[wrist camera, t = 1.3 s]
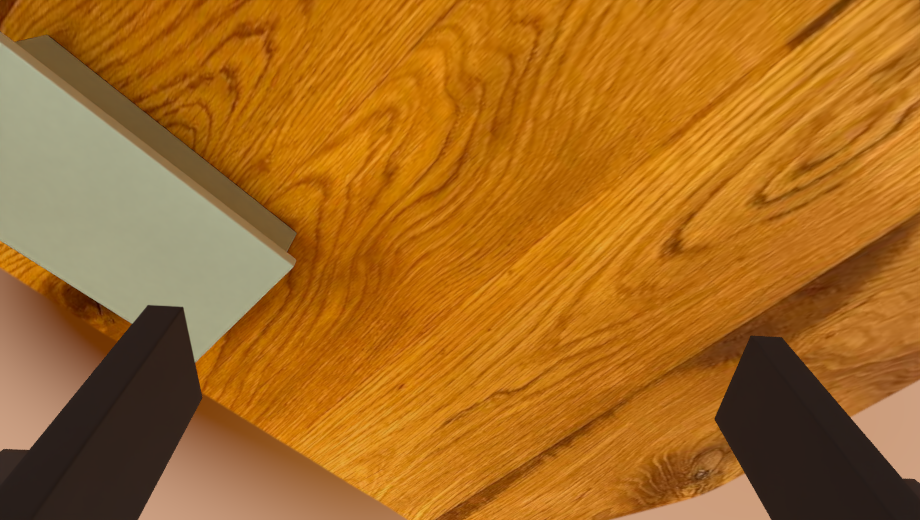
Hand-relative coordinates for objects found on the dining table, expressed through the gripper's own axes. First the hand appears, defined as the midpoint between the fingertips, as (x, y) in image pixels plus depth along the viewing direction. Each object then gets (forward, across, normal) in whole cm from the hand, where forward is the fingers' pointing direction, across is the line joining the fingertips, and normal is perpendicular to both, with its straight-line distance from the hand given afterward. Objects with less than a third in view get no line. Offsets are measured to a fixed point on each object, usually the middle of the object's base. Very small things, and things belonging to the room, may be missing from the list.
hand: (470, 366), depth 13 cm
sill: (+20, -18, -6) cm, 28 cm away
